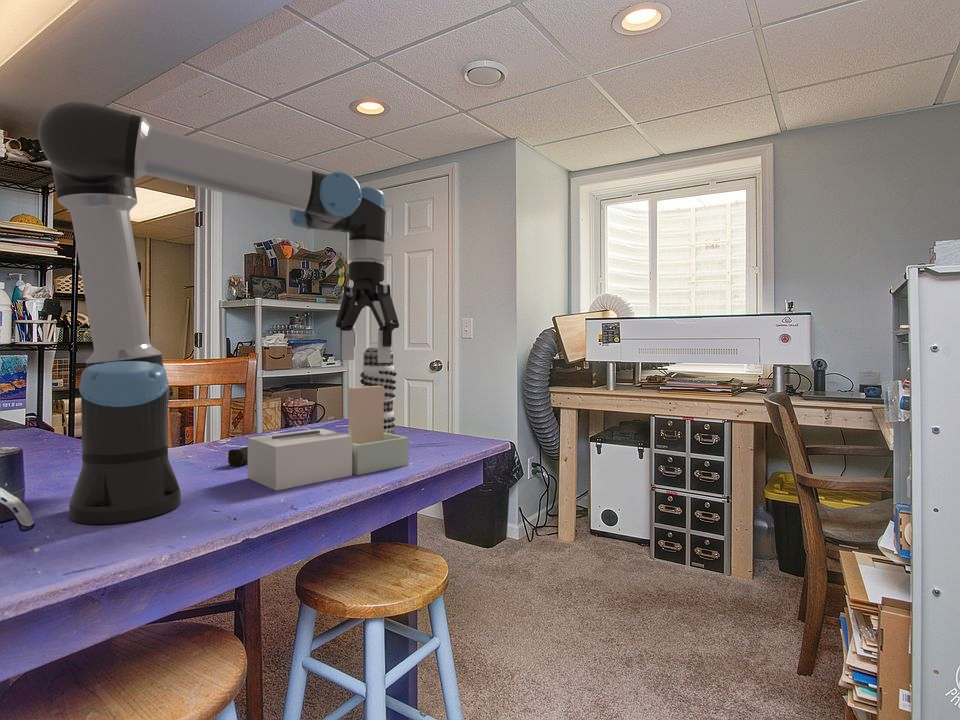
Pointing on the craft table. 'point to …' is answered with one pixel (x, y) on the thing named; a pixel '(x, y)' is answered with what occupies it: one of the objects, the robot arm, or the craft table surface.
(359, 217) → the robot arm
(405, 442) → the bin
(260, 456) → the dispenser
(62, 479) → the craft table surface
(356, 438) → the ticket
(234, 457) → the hand tool
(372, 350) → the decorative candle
